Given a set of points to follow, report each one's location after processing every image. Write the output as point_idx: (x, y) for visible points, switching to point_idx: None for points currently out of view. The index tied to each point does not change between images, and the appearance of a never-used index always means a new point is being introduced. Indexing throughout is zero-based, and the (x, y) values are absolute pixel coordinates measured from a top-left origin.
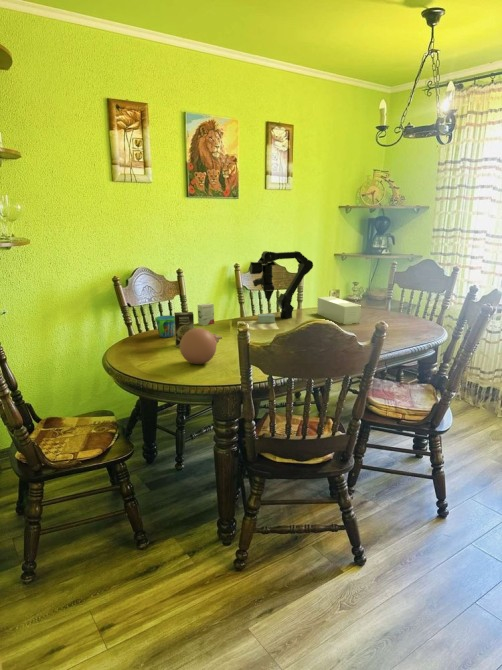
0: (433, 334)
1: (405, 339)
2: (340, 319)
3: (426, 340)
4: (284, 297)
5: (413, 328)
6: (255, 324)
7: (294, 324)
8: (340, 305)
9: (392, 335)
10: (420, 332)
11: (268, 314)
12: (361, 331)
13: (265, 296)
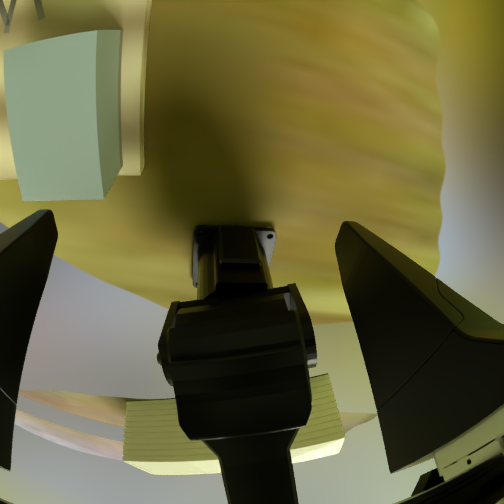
0: (73, 446)
1: (21, 418)
2: (147, 413)
3: (29, 429)
4: (180, 412)
5: (111, 449)
6: (20, 16)
7: (107, 277)
8: (150, 461)
9: (41, 419)
10: (81, 444)
11: (58, 144)
12: (53, 402)
13: (358, 243)
